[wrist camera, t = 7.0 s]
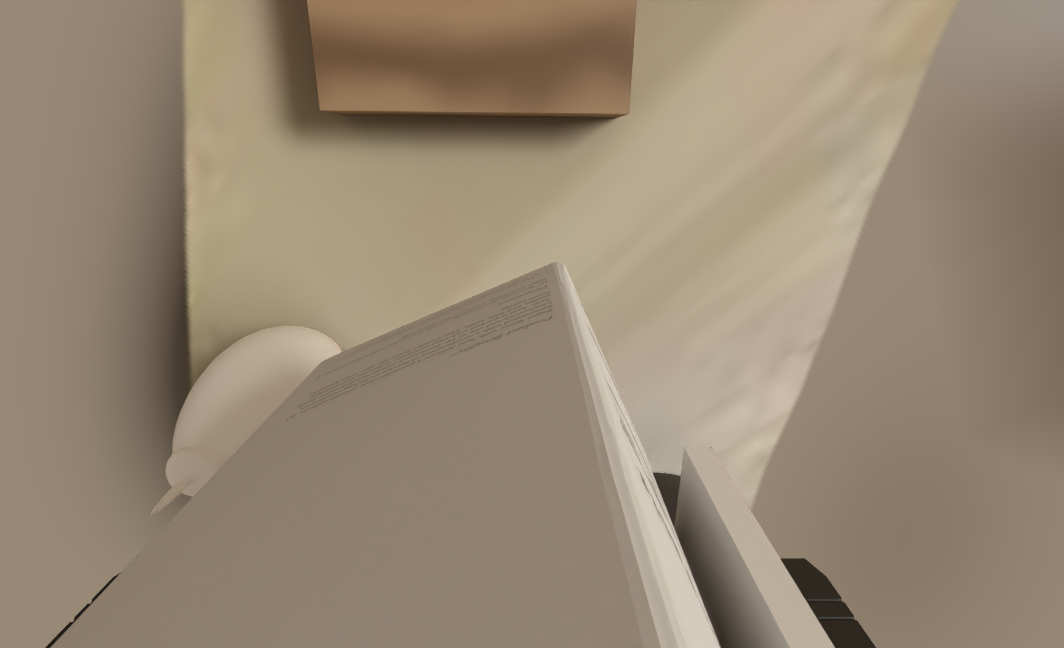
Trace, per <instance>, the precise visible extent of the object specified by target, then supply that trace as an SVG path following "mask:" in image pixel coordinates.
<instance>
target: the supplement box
mask: <svg viewBox="0 0 1064 648" xmlns="http://www.w3.org/2000/svg"><path fill="white" fill-rule="evenodd" d="M50 648H721V647H720V644H719V642H718V639H717V637H716V634H715V632H714V629H713V627H712V624H711V622H710V619H709V617H708V614H707V612H706V609H705V606H704V604H703V601H702V599H701V596H700V594H699V591H698V588H697V586H696V583H695V581H694V578H693V576H692V573H691V570H690V568H689V565H688V563H687V560H686V558H685V555H684V552H683V550H682V547H681V545H680V542H679V540H678V537H677V534H676V532H675V529H674V527H673V524H672V522H671V519H670V517H669V514H668V511H667V509H666V506H665V504H664V501H663V499H662V496H661V493H660V491H659V488H658V486H657V483H656V480H655V478H654V475H653V472H652V469H651V466H650V464H649V461H648V459H647V456H646V454H645V451H644V449H643V447H642V444H641V442H640V440H639V437H638V435H637V433H636V430H635V428H634V426H633V423H632V421H631V419H630V416H629V414H628V412H627V409H626V407H625V404H624V402H623V400H622V397H621V395H620V393H619V390H618V388H617V386H616V383H615V381H614V379H613V376H612V374H611V372H610V369H609V367H608V365H607V362H606V360H605V358H604V355H603V353H602V351H601V348H600V346H599V343H598V341H597V339H596V336H595V334H594V332H593V329H592V327H591V325H590V322H589V320H588V318H587V315H586V313H585V311H584V308H583V306H582V304H581V301H580V299H579V297H578V294H577V292H576V290H575V287H574V285H573V283H572V280H571V278H570V276H569V274H568V271H567V269H566V267H565V265H564V264H562V263H560V262H555V263H552V264H549V265H547V266H544V267H542V268H540V269H537V270H535V271H532V272H530V273H528V274H525V275H523V276H521V277H518V278H516V279H514V280H511V281H509V282H506V283H504V284H502V285H499V286H497V287H495V288H492V289H490V290H487V291H485V292H483V293H480V294H478V295H476V296H473V297H471V298H468V299H466V300H464V301H461V302H459V303H457V304H454V305H452V306H449V307H447V308H445V309H442V310H440V311H438V312H435V313H433V314H431V315H428V316H426V317H424V318H421V319H419V320H417V321H414V322H412V323H410V324H407V325H405V326H402V327H400V328H398V329H395V330H393V331H391V332H388V333H386V334H384V335H381V336H379V337H377V338H374V339H372V340H370V341H367V342H365V343H363V344H360V345H358V346H356V347H353V348H351V349H348V350H346V351H344V352H341V353H339V354H337V355H334V356H332V357H330V358H328V359H326V360H324V361H322V362H321V363H320V364H319V365H318V366H317V367H316V368H315V369H314V370H313V371H312V372H311V373H310V374H309V375H308V377H307V378H306V379H305V380H304V381H303V382H302V383H301V384H300V385H299V386H298V387H297V388H296V389H295V390H294V391H293V392H292V393H291V394H290V395H289V396H288V397H287V399H286V400H285V401H284V402H283V403H282V404H281V405H280V406H279V407H278V408H277V409H276V410H275V411H274V412H273V413H272V414H271V415H270V416H269V417H268V418H267V419H266V421H265V422H264V423H263V424H262V425H261V426H260V427H259V428H258V429H257V430H256V431H255V432H254V433H253V434H252V435H251V436H250V437H249V438H248V439H247V440H246V442H245V443H244V444H243V445H242V446H241V447H240V448H239V449H238V450H237V451H236V452H235V453H234V454H233V455H232V456H231V457H230V458H229V459H228V460H227V462H226V463H225V464H224V465H223V466H222V467H221V468H220V469H219V470H218V471H217V472H216V473H215V474H214V475H213V476H212V477H211V478H210V480H209V481H208V482H207V483H206V484H205V485H204V486H203V487H202V488H201V489H200V490H199V491H198V492H197V493H196V494H195V495H194V497H193V498H192V499H191V500H190V501H189V502H188V503H187V504H186V505H185V506H184V507H183V508H182V509H181V510H180V511H179V512H178V513H177V514H176V515H175V516H174V517H173V518H172V520H171V521H170V522H169V523H168V524H167V525H166V526H165V527H164V528H163V529H162V530H161V531H160V532H159V533H158V535H157V536H156V537H155V538H154V539H153V540H152V541H151V542H150V543H149V544H148V545H147V546H146V547H145V548H144V549H143V550H142V551H141V552H140V553H139V554H138V555H137V556H136V558H135V559H134V560H133V561H132V562H131V563H130V564H129V565H128V566H127V567H126V568H125V569H124V570H123V571H122V572H121V573H120V574H119V575H118V576H117V577H116V579H115V580H114V581H113V582H112V583H111V584H110V585H109V586H108V587H107V588H106V589H105V590H104V591H103V592H102V593H101V594H100V595H99V597H98V598H97V599H96V600H95V601H94V602H93V603H92V604H91V605H90V606H89V607H88V608H87V609H86V610H85V611H84V612H83V614H82V615H81V616H80V617H79V618H78V619H77V620H76V621H75V622H74V623H73V624H72V625H71V626H70V627H69V628H68V629H67V631H66V632H65V633H64V634H63V635H62V636H61V637H60V638H59V639H58V640H57V641H56V642H55V643H54V644H53V645H52V646H51V647H50Z"/></svg>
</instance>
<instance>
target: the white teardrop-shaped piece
mask: <svg viewBox="0 0 1064 648" xmlns="http://www.w3.org/2000/svg"><path fill="white" fill-rule="evenodd" d="M341 352H342V351H341V349H340V348H339V346H338V345H337V344H336V343H335V342H334V341H333V340H332V339H331V338H330V337H328V336H327V335H325V334H323V333H321V332H319V331H316V330H313V329H311V328H306V327H301V326H289V325H283V326H275V327H269V328H265V329H262V330H259V331H257V332H254V333H251V334H249V335H247V336H245V337H243V338H241V339H239V340H238V341H236V342H235V343H234V344H232V345H231V346H229V347H228V348H227V349H225V350H224V351H223V352H222V353H220V354H219V355H218V356H217V357H216V358H215V359H214V360H213V361H212V362H211V363H210V364H209V366H208V367H207V368H206V369H205V370H204V372H203V373H202V374H201V376H200V377H199V378H198V379H197V381H196V382H195V384H194V386H193V387H192V389H191V391H190V393H189V394H188V396H187V399H186V401H185V403H184V405H183V408H182V409H181V412H180V414H179V417H178V420H177V423H176V428H175V432H174V436H173V444H172V453H173V454H172V456H171V457H170V458H169V460H168V462H167V464H166V477H167V480H168V482H169V484H170V485H171V486H172V488H171V489H170V490H169V491H168V492H167V493H166V494H165V495H164V496H163V498H162V499H161V500H160V501H159V502H158V503H157V504H156V506H155V507H154V508H153V510H152V511H151V513H150V515H151V516H152V515H154V514H156V513H158V512H159V511H161V510H162V509H163V508H164V507H166V506H167V505H168V504H169V503H170V502H171V501H173V500H174V499H175V498H176V497H177V496H178V495H179V494H180V493H183V494H186V495H188V496H194V495H195V494H196V493H197V492H198V491H199V490H200V489H201V488H202V487H203V486H204V485H205V484H206V483H207V482H208V481H209V480H210V478H211V477H212V476H213V475H214V474H215V473H216V472H217V471H218V470H219V469H220V468H221V467H222V466H223V465H224V464H225V463H226V462H227V460H228V459H229V458H230V457H231V456H232V455H233V454H234V453H235V452H236V451H237V450H238V449H239V448H240V447H241V446H242V445H243V444H244V443H245V442H246V440H247V439H248V438H249V437H250V436H251V435H252V434H253V433H254V432H255V431H256V430H257V429H258V428H259V427H260V426H261V425H262V424H263V423H264V422H265V421H266V419H267V418H268V417H269V416H270V415H271V414H272V413H273V412H274V411H275V410H276V409H277V408H278V407H279V406H280V405H281V404H282V403H283V402H284V401H285V400H286V399H287V397H288V396H289V395H290V394H291V393H292V392H293V391H294V390H295V389H296V388H297V387H298V386H299V385H300V384H301V383H302V382H303V381H304V380H305V379H306V378H307V377H308V375H309V374H310V373H311V372H312V371H313V370H314V369H315V368H316V367H317V366H318V365H319V364H320V363H321V362H322V361H324V360H326V359H328V358H330V357H332V356H334V355H337V354H339V353H341Z"/></svg>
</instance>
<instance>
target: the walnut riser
mask: <svg viewBox="0 0 1064 648" xmlns="http://www.w3.org/2000/svg"><path fill="white" fill-rule="evenodd" d="M636 3H637V0H307V6H308V14H309V23H310V31H311V40H312V48H313V57H314V65H315V74H316V82H317V91H318V100H319V108H320V110H321V111H326V112H332V113H337V114H343V115H427V116H518V117H609V118H618V117H621V116H624V115H627V114H629V108H630V93H631V78H632V63H633V48H634V33H635V18H636Z"/></svg>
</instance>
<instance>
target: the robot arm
mask: <svg viewBox="0 0 1064 648" xmlns="http://www.w3.org/2000/svg"><path fill="white" fill-rule="evenodd" d="M653 475H654V478H655V480H656V483H657V486H658V488H659V491H660V493H661V496H662V499H663V501H664V504H665V506H666V509H667V511H668V514H669V517H670V519H671V522H672V524H673V527H674V529H675V532H676V534H677V537H678V540H679V542H680V545H681V547H682V550H683V552H684V555H685V558H686V560H687V563H688V565H689V568H690V570H691V573H692V576H693V578H694V581H695V583H696V586H697V588H698V591H699V594H700V596H701V599H702V601H703V604H704V606H705V609H706V612H707V614H708V617H709V619H710V622H711V624H712V627H713V629H714V632H715V634H716V637H717V639H718V642H719V644H720V647H721V648H876V647H875V645H874V644H873V643H872V641H871V640H870V638H869V637H868V635H867V634H866V633H865V631H864V630H863V628H862V627H861V625H860V624H859V623H858V621H855V619H854V615H853V614H852V613H851V611H850V610H849V608H848V607H847V605H846V604H845V603H844V602H842V600H841V597H840V595H839V594H838V593H837V591H836V590H835V588H834V587H833V586H832V584H831V583H830V581H829V580H828V578H827V577H826V576H825V575H824V574H823V573H821V572H820V571H819V570H817V568H815V567H814V566H813V565H811V563H809V562H808V561H807V560H806V559H780V558H779V556H778V555H777V553H776V551H775V550H774V548H773V546H772V545H771V543H770V542H769V540H768V538H767V537H766V535H765V533H764V532H763V530H762V528H761V527H760V525H759V524H758V522H757V520H756V519H755V517H754V516H753V514H752V512H751V511H750V509H749V507H748V506H747V504H746V503H745V501H744V499H743V498H742V496H741V494H740V493H739V491H738V490H737V488H736V486H735V485H734V483H733V481H732V480H731V478H730V477H729V475H728V473H727V472H726V470H725V468H724V467H723V465H722V464H721V462H720V460H719V459H718V457H717V455H716V454H715V452H714V451H713V449H712V447H684V454H683V462H682V471H681V476H677V475H672V474H661V473H653ZM119 574H120V573H119ZM119 574H118V575H119ZM118 575H116V576H115V577H113V578H112V579H111V580H110V581H109V582H108V583H107V584H106V586H104V588H103V589H102V590H101V591H100V592H99V593H98V594H97V595H96V596H95V597H94V598H93V599H92V602H91V604H92V603H93V602H94V601H95V600H96V599H97V598H98V597H99V595H100V594H101V593H102V592H103V591H104V590H105V589H106V588H107V587H108V586H109V585H110V584H111V583H112V582H113V581H114V580H115V579H116V577H117V576H118ZM91 604H87V605H86V606H85V607H84V608H83V609H82V610H81V611H80V612H79V613H78V614H77V615H76V616H75V619H74V621H73V622H70V623H69V624H68V625H67V626H66V627H65V628H64V629H63V630H62V631H61V632H60V633H59V634H58V635H57V636H56V637H55V638H54V639H53V640H52V641H51V643H49V644H48V646H47V647H46V648H50V647H51V646H52V645H53V644H54V643H55V642H56V641H57V640H58V639H59V638H60V637H61V636H62V635H63V634H64V633H65V632H66V631H67V629H68V628H69V627H70V626H71V625H72V624H73V623H74V622H75V621H76V620H77V619H78V618H79V617H80V616H81V615H82V614H83V612H84V611H85V610H86V609H87V608H88V607H89V606H90V605H91Z"/></svg>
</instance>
